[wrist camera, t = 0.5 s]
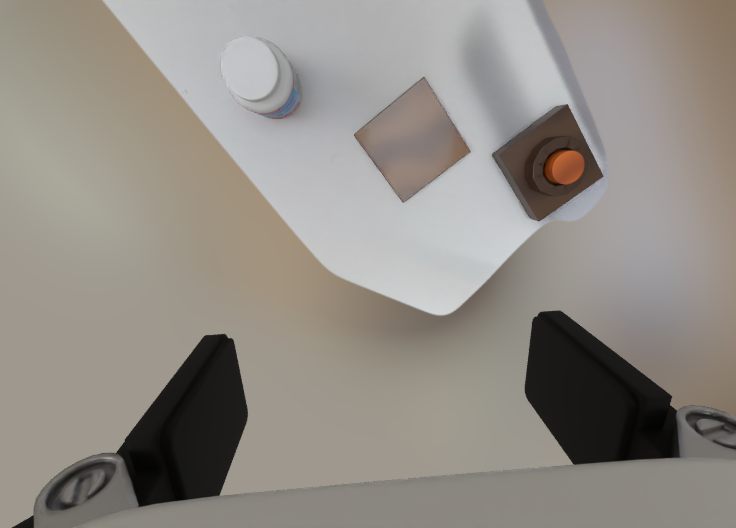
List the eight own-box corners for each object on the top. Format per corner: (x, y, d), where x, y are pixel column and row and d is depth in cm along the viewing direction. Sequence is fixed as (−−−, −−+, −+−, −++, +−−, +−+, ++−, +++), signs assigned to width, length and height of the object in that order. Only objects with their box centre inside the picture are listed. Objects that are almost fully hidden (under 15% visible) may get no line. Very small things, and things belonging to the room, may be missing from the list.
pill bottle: (258, 124, 40) (225, 117, 29) (240, 65, 38) (198, 35, 27) (309, 112, 39) (295, 101, 29) (294, 52, 37) (273, 16, 27)
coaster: (353, 134, 41) (353, 134, 40) (423, 77, 39) (424, 76, 39) (402, 202, 43) (403, 202, 43) (469, 151, 42) (470, 151, 42)
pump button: (538, 163, 39) (546, 164, 38) (566, 143, 39) (576, 143, 37) (552, 189, 40) (561, 191, 39) (580, 169, 40) (590, 170, 38)
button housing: (491, 154, 42) (505, 155, 38) (556, 105, 41) (577, 102, 37) (530, 218, 45) (546, 224, 41) (591, 174, 44) (614, 177, 40)
